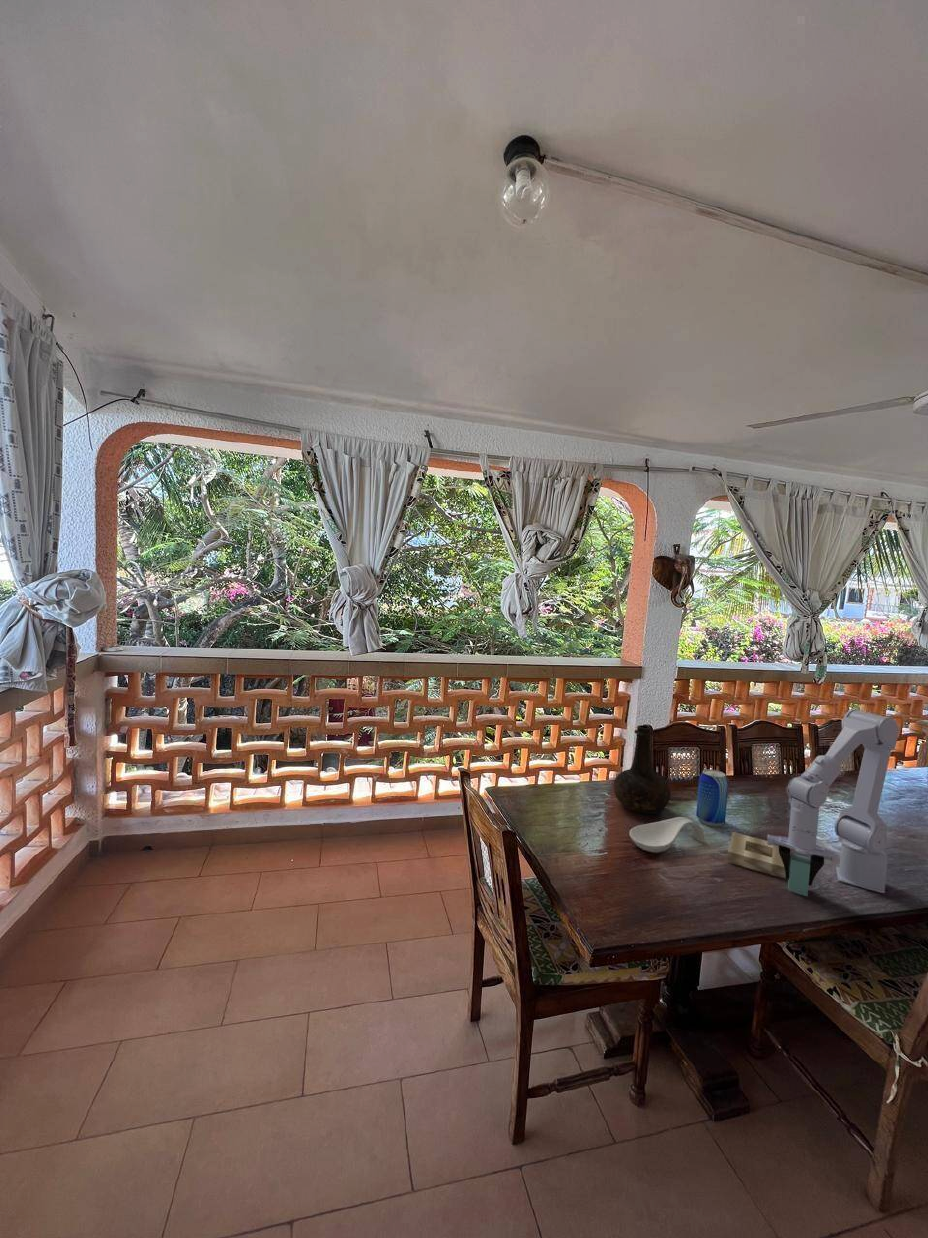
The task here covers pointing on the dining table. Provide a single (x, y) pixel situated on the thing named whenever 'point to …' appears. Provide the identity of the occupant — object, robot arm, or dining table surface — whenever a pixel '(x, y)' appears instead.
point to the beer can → (712, 798)
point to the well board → (755, 855)
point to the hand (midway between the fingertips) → (798, 880)
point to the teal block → (799, 874)
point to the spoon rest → (663, 834)
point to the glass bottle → (642, 780)
